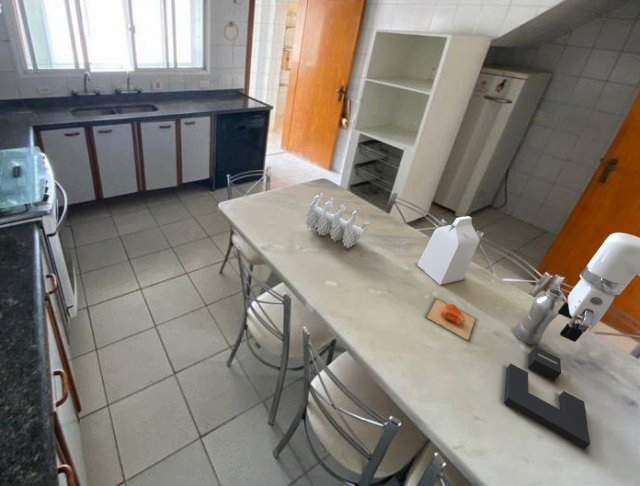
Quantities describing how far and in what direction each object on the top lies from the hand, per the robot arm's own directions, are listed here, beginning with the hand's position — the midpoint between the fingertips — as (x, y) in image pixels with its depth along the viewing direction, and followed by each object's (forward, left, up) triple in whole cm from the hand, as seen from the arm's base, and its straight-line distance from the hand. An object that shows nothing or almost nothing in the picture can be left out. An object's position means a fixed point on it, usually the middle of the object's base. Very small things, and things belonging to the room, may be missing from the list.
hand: (565, 326), depth 89 cm
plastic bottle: (+3, -10, -17) cm, 20 cm away
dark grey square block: (-1, 0, -17) cm, 17 cm away
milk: (+31, -26, -17) cm, 44 cm away
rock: (+23, -2, -17) cm, 29 cm away
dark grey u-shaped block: (-1, +14, -17) cm, 22 cm away
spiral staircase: (+74, -17, -17) cm, 78 cm away
